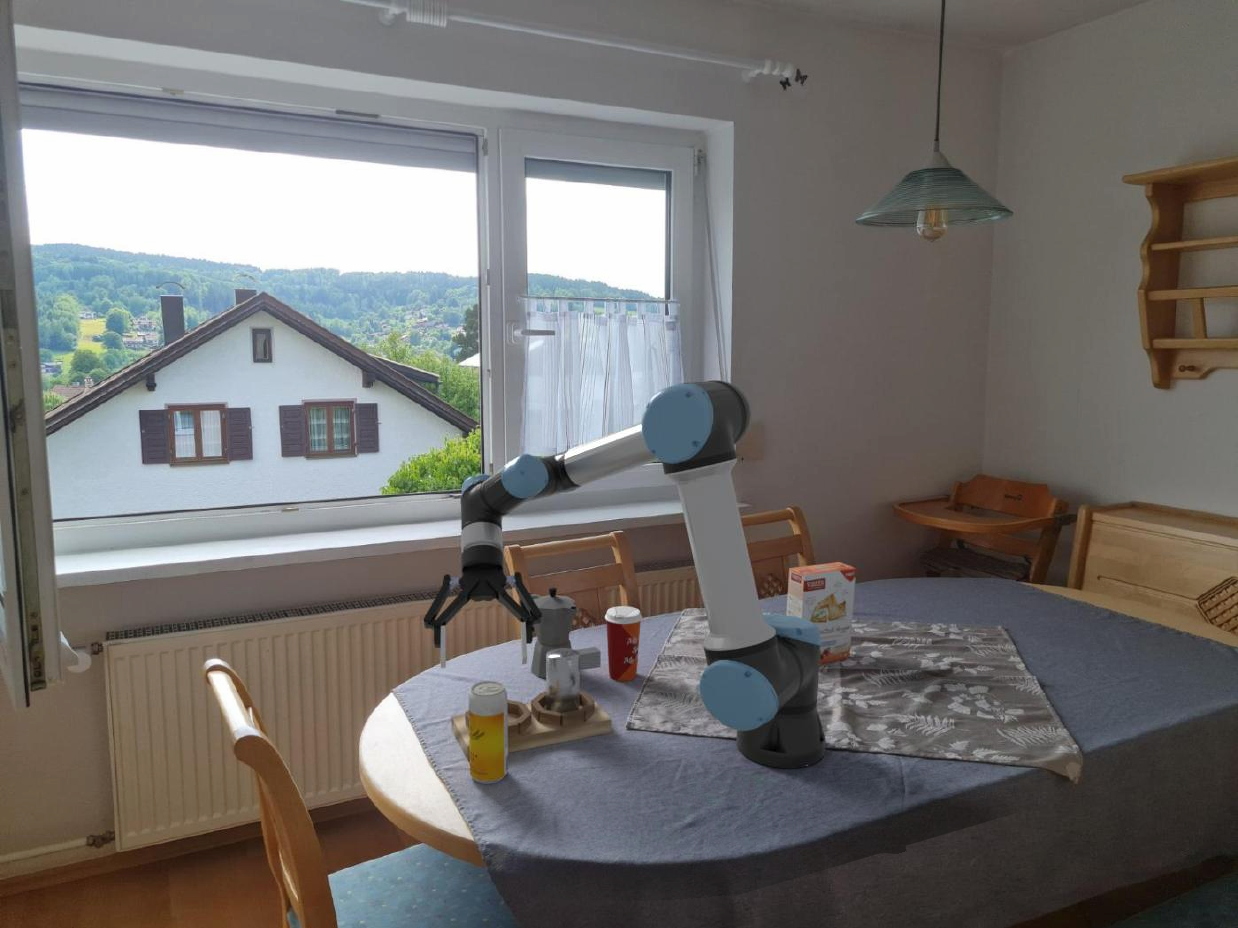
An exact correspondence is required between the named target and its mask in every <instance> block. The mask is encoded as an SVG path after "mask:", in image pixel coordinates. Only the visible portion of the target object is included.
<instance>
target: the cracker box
mask: <svg viewBox="0 0 1238 928" xmlns="http://www.w3.org/2000/svg"><path fill="white" fill-rule="evenodd" d="M856 575H857V568H855V567H853V566H851V565H849V564H846V563H843V562H841V561H837V562H836V561H835V562H829V563H820V564H813V565H803V566H795V567H789V569H788V581H787V582H788V583H787V585H788V586H787V598H786V599H787V600H786V613H785V615H788V616H794V617H798V618H802V619H806V620H808V621H811V622H813V623H814V624H816V625H817V626H818V628H819V630H820V642H821V646H820V661H819V665H823V664H827V663H832V662H837V661H838V660H839V661H842V660H843V659H844V660H848V659H847V658H849V659H850V655H851V642H852V629H853V617H854V604H855V603H854V602H855V591H856V590H855V589H856V588H855V587H856ZM844 660H843V661H844Z"/></svg>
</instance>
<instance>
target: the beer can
mask: <svg viewBox="0 0 1238 928" xmlns="http://www.w3.org/2000/svg"><path fill="white" fill-rule="evenodd" d="M507 700H508V691H507V690H506V687H505V685H504V683H502V682H500V681H495V680H483V681H480V682H476V683H475V684H473V685H472V686H471V687H470V691H469V693H468V710H469V753H470V760H469V774H470V776H471V777H472V778H473V780H474V781H475V782H477V783H480V784H483V785H484V784H487V785H490V784H495V783H498V782H500V781H502V780H503V779H504V778H505V776H506V775H507V773H508V771H509V753H508V717H507Z"/></svg>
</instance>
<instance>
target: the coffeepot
mask: <svg viewBox="0 0 1238 928" xmlns="http://www.w3.org/2000/svg"><path fill="white" fill-rule="evenodd" d="M548 591H549V592H548V593H549V594H548V595H542V596H541V595H540V594H536V593H531V592H529V594H530V595H531V597H532V599H533V600H534V602H535V604H536V605H537V607H538V608H539V610H540V612H541V613H542V620H541V623H540V624H534V625H533V626H532V632H534V633H535V634H536V636H537V637H536V641H535V642H534V643H535V644H534V649H533V655H532V661H531V667H530V671H531V672H532V674H533V675H534V676H536V677H538V678H540V679H541V678H542V679H546V654H547V652H549V651H550V650H553V649H558V648H569V649H573V648H572V642H571V640H570V633H571V631H572V627H573V621H574V616H575V615H576V613H578V612H579V611H580V608H579V607H578V605H576V600H574V599H573V598H571V597H570V596H567V595H556V594H557V591H558V590H557V588H556V587H549V589H548ZM519 603H520V604H519V605H520V606H521V607H522V608H523V609H524V610H525V611H526V612H527V613H528V614H529V615H530V613H529V612H528V610H527V609H526V607H525V605H524V604H523V602H522V600H521V599H519ZM530 616H531V615H530Z"/></svg>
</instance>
